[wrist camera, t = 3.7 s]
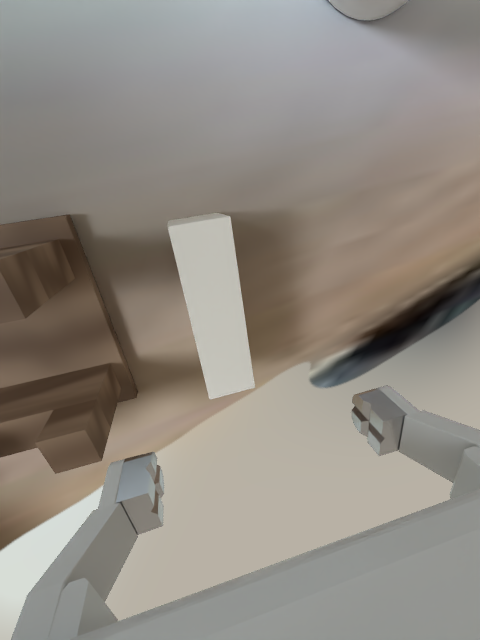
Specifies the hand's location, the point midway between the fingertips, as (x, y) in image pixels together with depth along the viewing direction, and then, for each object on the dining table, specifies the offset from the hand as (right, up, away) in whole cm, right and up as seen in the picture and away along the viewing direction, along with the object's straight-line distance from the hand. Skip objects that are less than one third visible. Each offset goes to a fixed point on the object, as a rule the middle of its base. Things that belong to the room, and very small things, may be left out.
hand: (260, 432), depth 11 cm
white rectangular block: (-4, +7, +15) cm, 17 cm away
